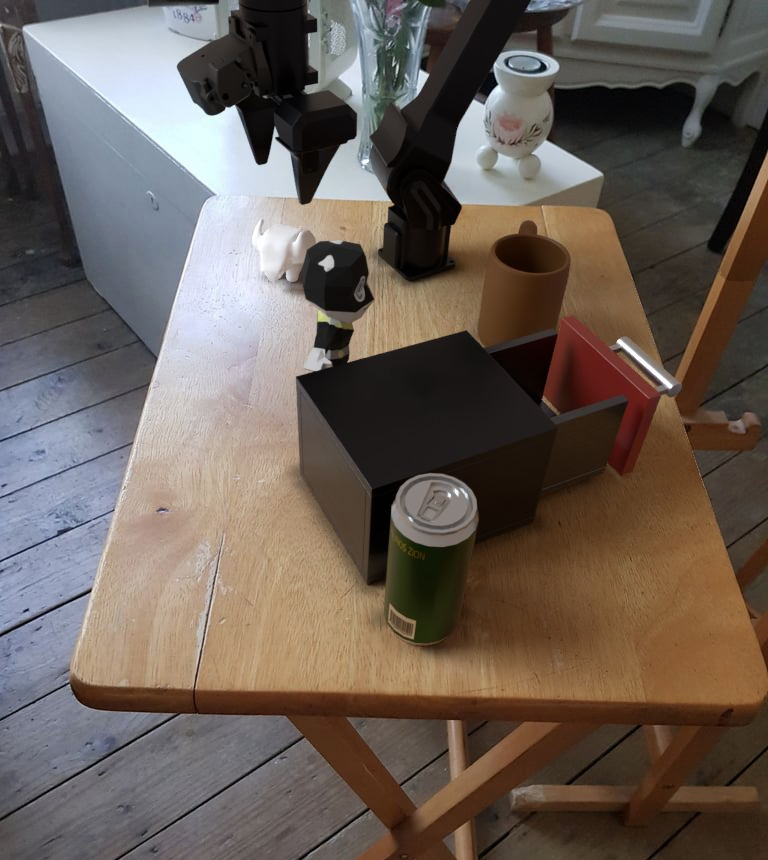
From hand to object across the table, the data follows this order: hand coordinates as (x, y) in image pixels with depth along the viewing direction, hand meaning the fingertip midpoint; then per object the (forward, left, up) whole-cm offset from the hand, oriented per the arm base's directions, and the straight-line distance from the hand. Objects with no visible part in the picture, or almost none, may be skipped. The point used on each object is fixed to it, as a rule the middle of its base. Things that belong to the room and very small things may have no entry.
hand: (282, 183), depth 79 cm
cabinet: (+6, +34, -10) cm, 36 cm away
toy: (+5, +20, -10) cm, 23 cm away
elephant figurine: (0, 0, -10) cm, 10 cm away
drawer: (-7, +35, -9) cm, 37 cm away
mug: (-16, +19, -10) cm, 27 cm away
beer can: (+12, +44, -10) cm, 47 cm away
